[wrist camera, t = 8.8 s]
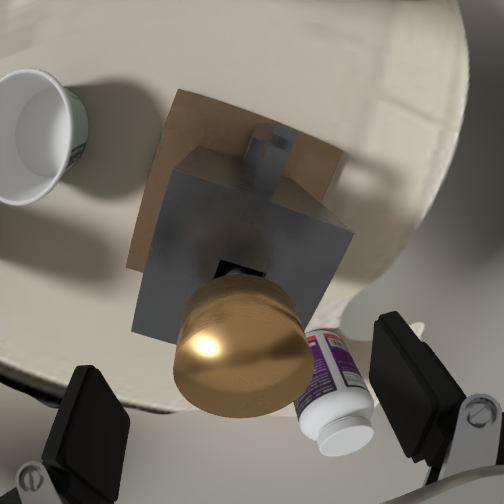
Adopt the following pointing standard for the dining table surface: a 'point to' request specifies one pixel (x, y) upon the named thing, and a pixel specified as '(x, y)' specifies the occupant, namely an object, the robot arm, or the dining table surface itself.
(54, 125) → the food container
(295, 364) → the plunger
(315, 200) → the block on wooden base
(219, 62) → the dining table surface
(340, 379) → the pill bottle
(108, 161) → the dining table surface
